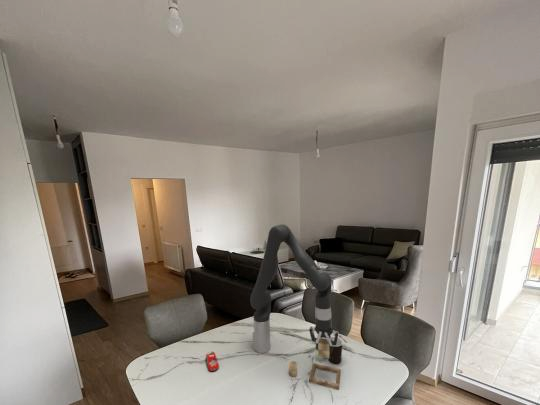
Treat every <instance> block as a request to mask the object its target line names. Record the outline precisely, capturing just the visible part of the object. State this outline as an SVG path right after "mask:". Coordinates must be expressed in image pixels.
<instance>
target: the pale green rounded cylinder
mask: <svg viewBox="0 0 540 405" xmlns="http://www.w3.org/2000/svg"><path fill="white" fill-rule="evenodd" d="M315 357H316V358H315V360H316V361H317V362H318V361H319V362H318V363H323V361H324V360H325V359H326V358H324V357H320V356H318V351H317V350H316V349H315ZM324 362H325V361H324Z"/></svg>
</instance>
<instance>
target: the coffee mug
mask: <svg viewBox="0 0 540 405" xmlns="http://www.w3.org/2000/svg"><path fill="white" fill-rule="evenodd" d="M331 339H332V341H334V339H335V336H331ZM343 342H344V341H343V340H342V339H341V338H339V337H338V339H337V343H336V346H335V345H333V352H331V354H330V355H329V359H328V358H327V359H328V362H329V363H330V364H333V365H336V366H337V365H340V364H341V363H342V355H343V354H342V353H343Z"/></svg>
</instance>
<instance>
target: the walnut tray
mask: <svg viewBox="0 0 540 405" xmlns="http://www.w3.org/2000/svg"><path fill="white" fill-rule="evenodd" d="M311 365H312V366H311V370H310V374H309V377H308V383H309V384H313V385H316V386H317V385H318V386H322V387H326V388H331V389H334V390H338V391H339V390H340V382H341V372H342V371H341V368H337V367H334V366H333V367H332V366H329V365H323V364H320V363H315V362H312V364H311ZM316 370H320V371H325V372H330V373H334V374H336V379H335V382H333V381H327V380H324V379H319V378H316V377H314V376H315V373H316Z"/></svg>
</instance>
